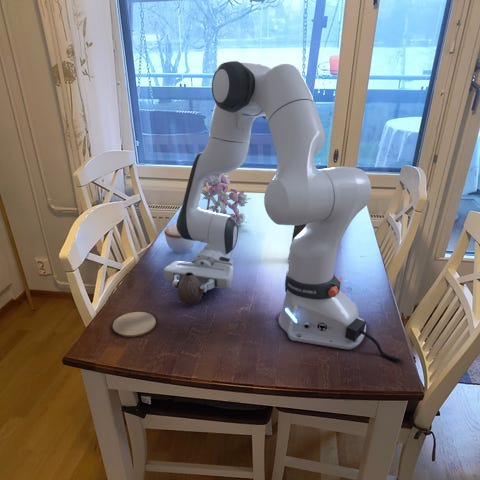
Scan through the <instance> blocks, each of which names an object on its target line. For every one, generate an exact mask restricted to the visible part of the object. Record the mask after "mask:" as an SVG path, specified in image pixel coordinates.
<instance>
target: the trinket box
mask: <svg viewBox="0 0 480 480" xmlns="http://www.w3.org/2000/svg"><path fill="white" fill-rule="evenodd" d="M164 236H165V242H166V244H167V246H168V247H169V249H170V250H171V251H172V252H173V253H175V254H181V255H183V254H188V253H189V252H190V251H191V250H192V249H193V247H194V246H195V243H196V241H193V240H187V239H183V238H182V236H181V235H180V234H179V232H178V230H177V228H176V224H171V225H169V226H166V227H165V228H164Z"/></svg>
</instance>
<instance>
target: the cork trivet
mask: <svg viewBox="0 0 480 480" xmlns="http://www.w3.org/2000/svg"><path fill="white" fill-rule="evenodd" d="M156 324H157V321H156V318H155V316H153V315H152V314H150V313H148V312H145V311H144V312H143V311H132V312H128V313H127V312H126V313H125V314H122V315H120V316H119V317H117V318H116V319H115V320H114V321H113V322H112V330H113V332H114V333H115V334H117V335H119V336H120V337H121V336H122V337H128V338H129V337H140V336H143V335H145V334H148V333H149V332H151V331H152V330H154V328H155V326H156Z"/></svg>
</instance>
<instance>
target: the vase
mask: <svg viewBox="0 0 480 480" xmlns="http://www.w3.org/2000/svg"><path fill="white" fill-rule="evenodd" d="M200 286H201V283H200V281H199V280H198V279H197V278H196V277H195V276H194V274H193V273H191V272H187V273H185V274H184V277H183V278H182V279H181V281H180V282H179V284H178V288H177V296H178V299H179V301H180V302H181V303H182V304H184V305H186V306H195V305H197V304H198V303H200V301H201V300H202V298H203V293H204V292H200Z"/></svg>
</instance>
